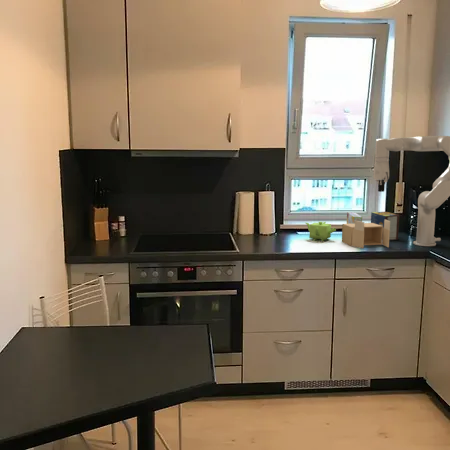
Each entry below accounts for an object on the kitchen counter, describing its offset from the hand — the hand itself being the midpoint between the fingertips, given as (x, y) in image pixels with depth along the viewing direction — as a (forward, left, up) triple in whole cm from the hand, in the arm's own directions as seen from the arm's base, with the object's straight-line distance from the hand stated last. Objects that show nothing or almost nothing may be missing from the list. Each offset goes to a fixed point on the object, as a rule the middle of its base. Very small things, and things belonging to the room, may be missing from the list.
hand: (381, 191), depth 311 cm
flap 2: (+1, +9, -31) cm, 32 cm away
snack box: (+7, -19, -32) cm, 37 cm away
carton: (+10, -2, -31) cm, 33 cm away
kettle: (+30, -18, -31) cm, 47 cm away
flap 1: (+18, +9, -31) cm, 37 cm away
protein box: (-12, -15, -32) cm, 37 cm away
